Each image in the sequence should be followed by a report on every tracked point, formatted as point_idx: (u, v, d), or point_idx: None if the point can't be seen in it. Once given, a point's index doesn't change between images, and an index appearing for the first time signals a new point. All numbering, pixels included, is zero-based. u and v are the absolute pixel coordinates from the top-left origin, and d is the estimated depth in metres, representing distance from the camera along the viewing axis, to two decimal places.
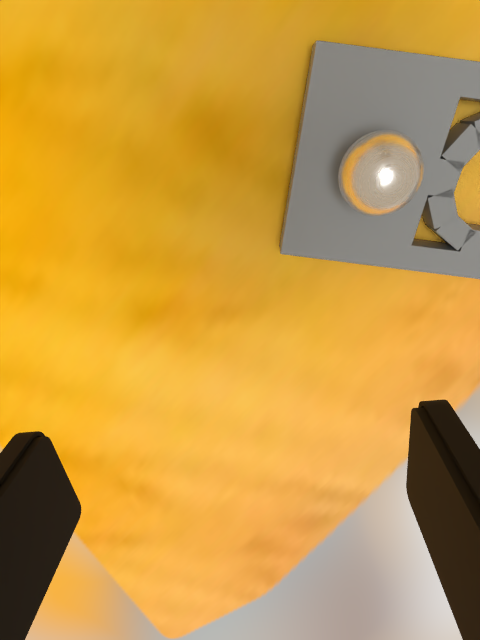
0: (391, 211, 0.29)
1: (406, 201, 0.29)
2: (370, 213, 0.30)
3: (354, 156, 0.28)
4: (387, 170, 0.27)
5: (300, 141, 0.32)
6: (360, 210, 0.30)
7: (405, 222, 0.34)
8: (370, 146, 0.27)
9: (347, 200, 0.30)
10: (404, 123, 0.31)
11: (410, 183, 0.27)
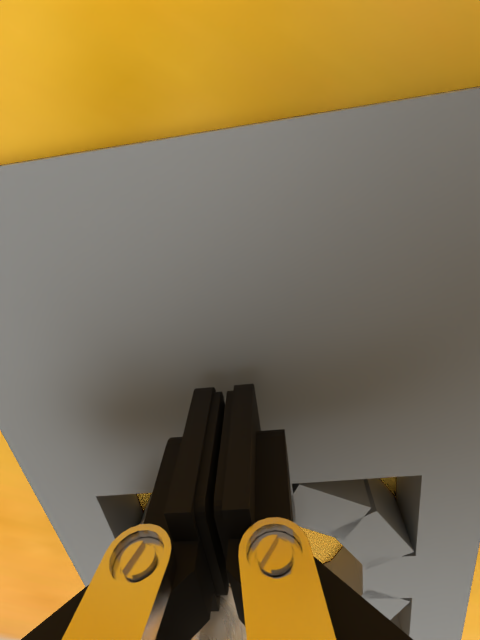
0: None
1: None
2: None
3: None
4: None
5: (245, 129, 0.09)
6: None
7: (136, 471, 0.14)
8: None
9: None
10: (352, 397, 0.12)
11: None
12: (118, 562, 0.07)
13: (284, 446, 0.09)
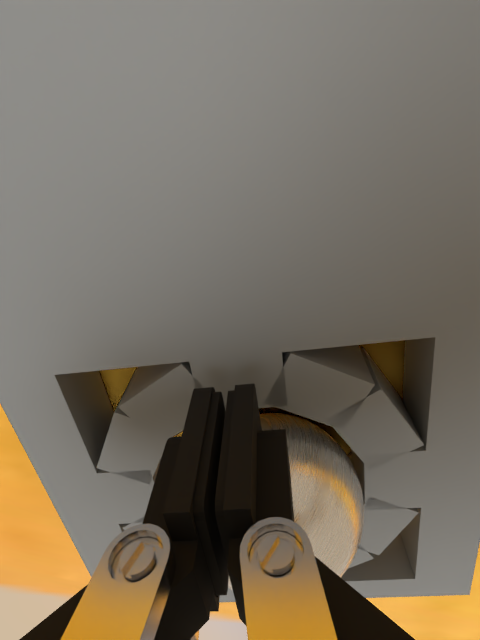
0: None
1: None
2: None
3: None
4: None
5: None
6: None
7: (100, 338, 0.12)
8: None
9: None
10: (352, 224, 0.10)
11: None
12: (117, 562, 0.07)
13: (285, 446, 0.09)
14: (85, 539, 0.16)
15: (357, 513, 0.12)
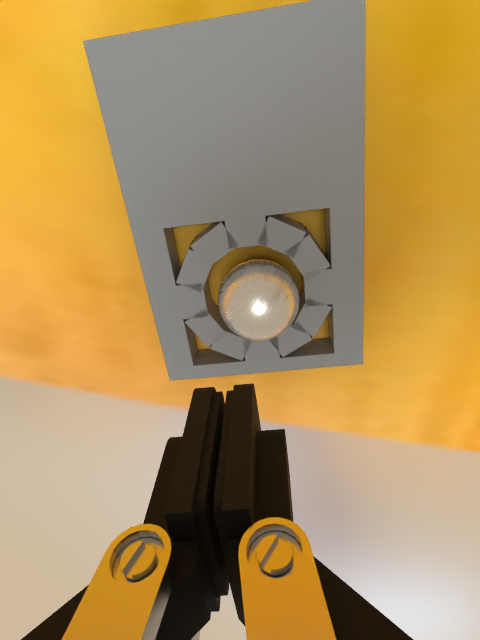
0: (255, 282, 0.27)
1: (258, 268, 0.27)
2: (244, 301, 0.27)
3: None
4: None
5: (243, 14, 0.22)
6: (240, 311, 0.27)
7: (186, 209, 0.27)
8: None
9: (234, 323, 0.28)
10: (292, 156, 0.25)
11: (245, 262, 0.28)
12: (118, 562, 0.07)
13: (284, 446, 0.09)
14: (164, 330, 0.31)
15: (293, 293, 0.28)
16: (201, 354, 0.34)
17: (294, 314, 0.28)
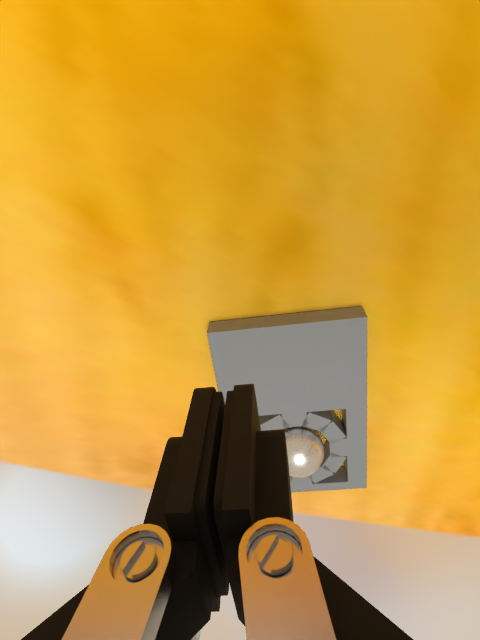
0: (296, 441, 0.44)
1: (298, 432, 0.45)
2: (289, 453, 0.44)
3: None
4: None
5: (299, 324, 0.40)
6: None
7: (258, 408, 0.45)
8: None
9: None
10: (324, 384, 0.43)
11: None
12: (118, 562, 0.07)
13: (284, 446, 0.09)
14: None
15: (319, 449, 0.45)
16: None
17: (320, 462, 0.45)
